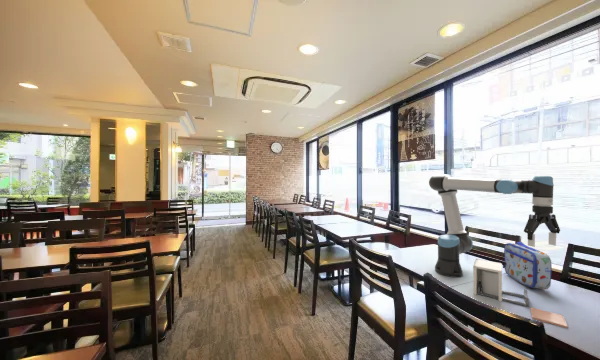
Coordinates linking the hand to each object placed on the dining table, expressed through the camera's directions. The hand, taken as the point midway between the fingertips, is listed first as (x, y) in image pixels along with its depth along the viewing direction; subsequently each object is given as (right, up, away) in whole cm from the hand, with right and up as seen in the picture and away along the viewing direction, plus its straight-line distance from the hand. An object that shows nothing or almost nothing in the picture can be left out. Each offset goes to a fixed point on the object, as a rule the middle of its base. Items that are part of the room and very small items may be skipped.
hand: (541, 245), depth 123 cm
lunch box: (+4, -25, +14) cm, 29 cm away
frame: (-24, -25, -3) cm, 35 cm away
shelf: (-28, -25, 0) cm, 37 cm away
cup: (-27, -25, -1) cm, 37 cm away
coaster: (-20, -25, -22) cm, 39 cm away
